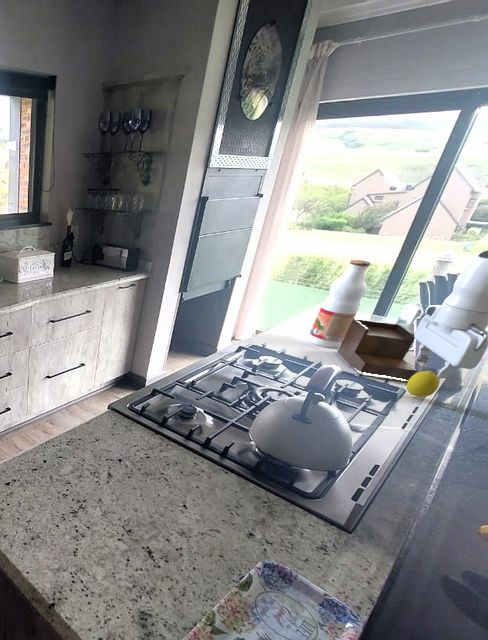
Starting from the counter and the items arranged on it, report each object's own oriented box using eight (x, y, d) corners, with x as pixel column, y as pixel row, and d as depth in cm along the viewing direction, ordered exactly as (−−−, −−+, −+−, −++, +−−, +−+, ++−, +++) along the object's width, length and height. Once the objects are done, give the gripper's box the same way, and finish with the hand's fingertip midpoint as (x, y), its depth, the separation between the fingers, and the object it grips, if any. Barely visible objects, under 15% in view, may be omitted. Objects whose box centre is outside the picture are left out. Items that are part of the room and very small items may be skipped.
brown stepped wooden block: (381, 357, 130) (400, 324, 125) (409, 382, 115) (431, 345, 110) (337, 351, 134) (353, 318, 128) (358, 374, 119) (377, 338, 113)
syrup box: (415, 351, 136) (439, 309, 129) (395, 349, 136) (418, 308, 130) (403, 344, 141) (425, 304, 134) (384, 342, 141) (405, 303, 135)
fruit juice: (335, 350, 134) (376, 266, 121) (303, 341, 141) (338, 260, 127) (343, 344, 140) (383, 262, 126) (311, 335, 146) (346, 256, 133)
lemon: (408, 390, 111) (423, 365, 107) (433, 401, 106) (450, 374, 103) (395, 394, 109) (411, 367, 105) (420, 404, 105) (437, 377, 101)
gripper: (509, 335, 88) (471, 390, 94) (454, 308, 105) (424, 356, 111) (472, 331, 90) (436, 384, 96) (423, 304, 107) (396, 351, 113)
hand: (430, 369), depth 104 cm, fingers open, 8 cm apart
